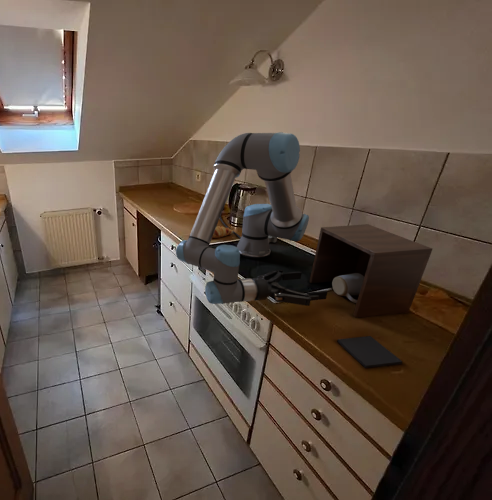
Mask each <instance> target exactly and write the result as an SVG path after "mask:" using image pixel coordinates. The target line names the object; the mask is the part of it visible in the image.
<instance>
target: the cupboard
mask: <svg viewBox="0 0 492 500" xmlns="http://www.w3.org/2000/svg"><path fill="white" fill-rule="evenodd" d="M432 252H433V248H432V247H430V246H427V245H424V244H422V243H419V242H416V241H414V240H412V239H408V238H407V237H403V236H400V235H398V234H395V233H392V232H391V231H387V230H384V229H382V228H379V227H376V226H375V225H371V224H369V223H365V224H352V225H350V224H349V225H337V226H335V225H334V226H322V227H321V226H320V231H319V234H318V239H317V245H316V250H315V253H314V258H313V263H312V267H311V272H310V277H309V283H310V284H319V283H330V282H331V283H332V282H333V279H334V278H335V277H338V276H341V275H347V274H352V273H360V274H361V275H363V276H364V280H363V284H362V287H361V290H360V294H359V295H358V297H357V299H356V300H357V303H355V307H354V311H353V317H354V318H366V317H375V316H385V315H386V316H387V315H397V314H407V313H409V312H410V309H411V307H412V305H413V301H414V299H415V297H416V294H417V291H418V289H419V286H420V283H421V281H422V278H423V276H424V274H425V273H424V272H425V270H426V267H427V264H428V263H429V260H430V258H431V254H432Z"/></svg>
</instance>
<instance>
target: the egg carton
mask: <svg viewBox="0 0 492 500" xmlns="http://www.w3.org/2000/svg"><path fill="white" fill-rule="evenodd" d="M277 240H278V237H273V236H269V235H268V241H269V243H277Z"/></svg>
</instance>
